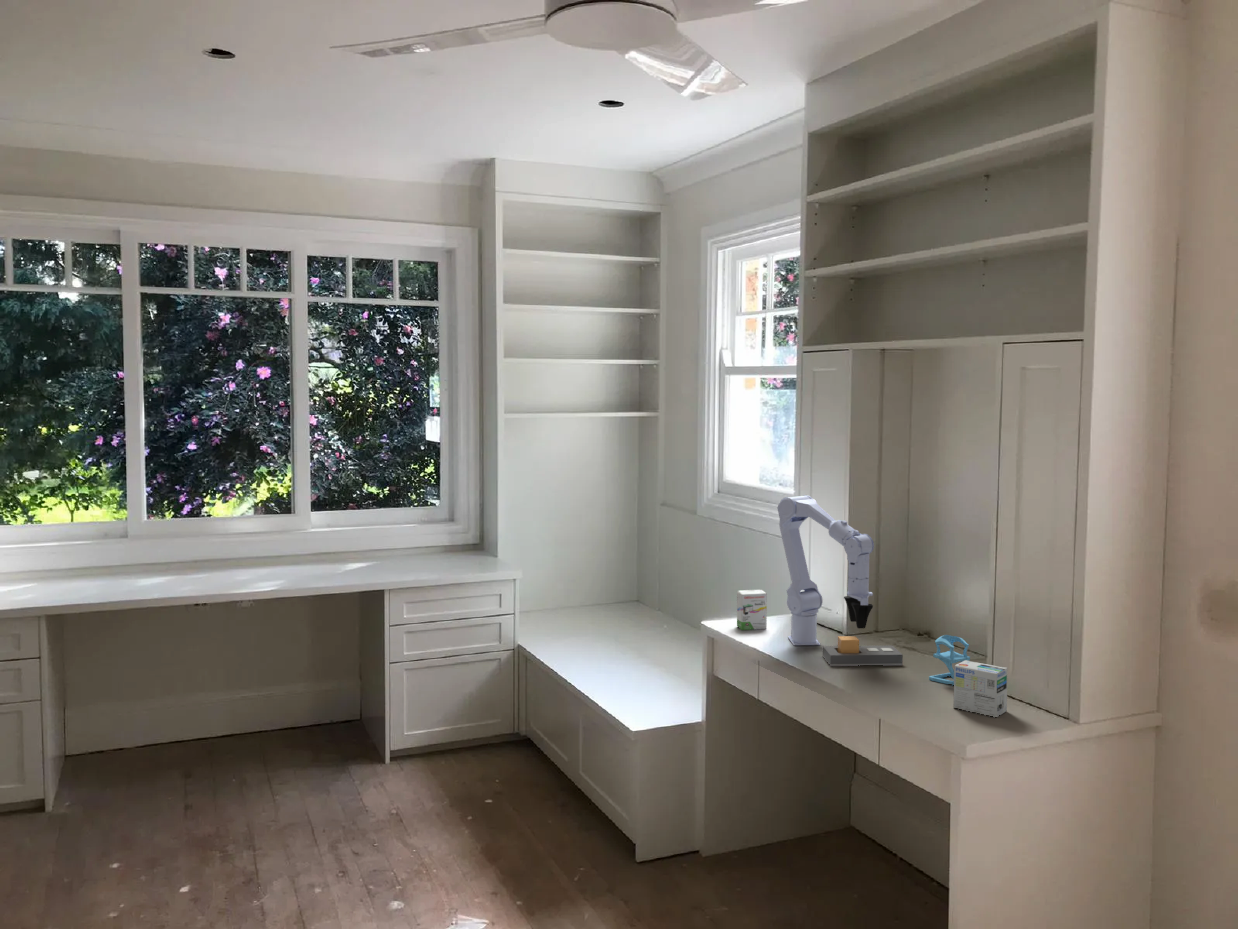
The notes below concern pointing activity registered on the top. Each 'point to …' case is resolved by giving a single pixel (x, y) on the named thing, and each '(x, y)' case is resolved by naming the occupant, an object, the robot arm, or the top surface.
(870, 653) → the power strip
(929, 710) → the top surface
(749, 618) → the ink box
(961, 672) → the light bulb box
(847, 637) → the plug block
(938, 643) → the chair
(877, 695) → the top surface
